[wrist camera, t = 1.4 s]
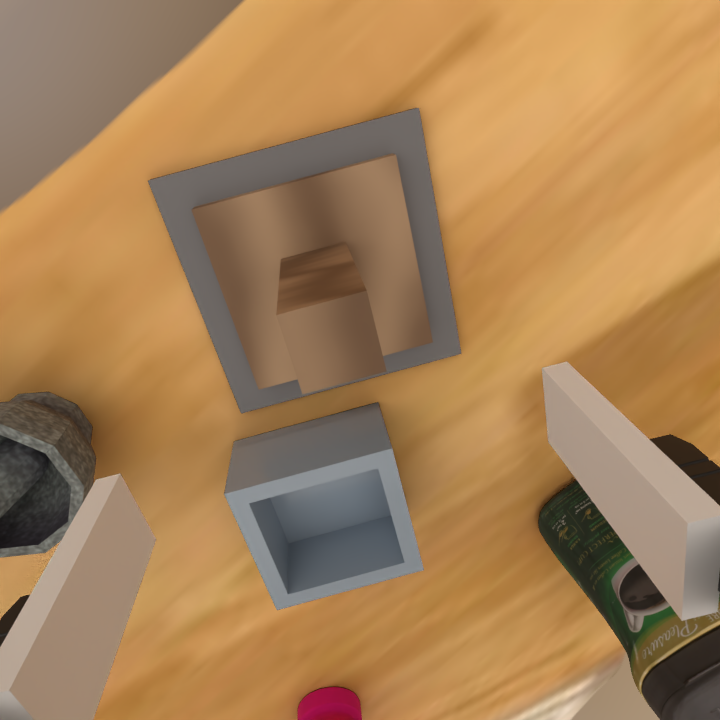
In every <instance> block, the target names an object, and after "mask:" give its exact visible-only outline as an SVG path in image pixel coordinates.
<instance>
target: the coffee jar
mask: <svg viewBox="0 0 720 720" xmlns="http://www.w3.org/2000/svg"><path fill="white" fill-rule="evenodd" d="M538 525H539V530H540V533H541V534H542V536H543V538H544V539H545V541H546V542H547V544H548V545H549V547H550V548H551V550H552V551H553V553H554V554H555V555H556V557H557V558H558V559H559V561H560V562H561V563H562V565H563V566H564V567H565V569H566V570H567V571H568V572H569V574H570V575H571V576H572V577H573V579H574V580H575V581H576V582H577V584H578V585H579V586H580V587H581V589H582V590H583V591H584V592H585V594H586V595H587V596H588V597H589V599H590V600H591V601H592V603H593V604H594V605H595V606H596V608H597V609H598V610H599V612H600V613H601V614H602V616H603V617H604V619H605V620H606V621H607V623H608V624H609V626H610V627H611V629H612V630H613V632H614V633H615V635H616V636H617V638H618V639H619V641H620V642H621V644H622V645H623V647H624V649H625V651H626V652H627V655H628V658H629V661H630V667H631V672H632V676H633V679H634V682H635V684H636V686H637V688H638V690H639V692H640V694H641V695H642V697H643V699H644V700H645V701H646V702H647V703H648V705H649V706H650V707H651V708H652V710H653V711H654V712H655V714H656V715H657V716H658V717H659V718H660V720H720V593H719V603H718V612H716V613H712V614H708V615H704V616H700V617H696V618H691V619H687V620H683V621H681V619H680V618H679V617H678V615H677V614H676V613H675V611H674V610H673V609H672V607H671V606H670V605H669V603H668V602H667V601H666V599H665V598H664V597H663V595H662V594H661V593H660V591H659V590H658V588H657V587H656V586H655V584H654V583H653V582H652V580H651V579H650V578H649V576H648V575H647V574H646V572H645V571H644V570H643V568H642V567H641V566H640V564H639V563H638V562H637V560H636V559H635V558H634V556H633V555H632V554H631V552H630V551H629V550H628V548H627V547H626V546H625V544H624V543H623V541H622V540H621V539H620V537H619V536H618V535H617V533H616V532H615V531H614V529H613V528H612V527H611V525H610V524H609V523H608V521H607V520H606V519H605V517H604V516H603V515H602V513H601V512H600V511H599V509H598V508H597V507H596V505H595V504H594V503H593V501H592V500H591V499H590V497H589V496H588V494H587V493H586V492H585V490H584V489H583V488H582V486H581V485H580V484H579V482H578V481H577V480H576V481H575V482H573V483H572V484H570V485H569V486H568V487H566V488H565V489H564V490H562V491H561V492H559V493H558V494H557V495H556V496H555V497H553V498H552V499H551V500H550V501H549V502H548V503H547V504H546V505H545V506H544V507H543V509H542V510H541V512H540V516H539V521H538Z"/></svg>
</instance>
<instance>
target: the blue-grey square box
mask: <svg viewBox="0 0 720 720" xmlns="http://www.w3.org/2000/svg"><path fill="white" fill-rule="evenodd" d="M224 495H225V497H226V499H227V501H228V504H229V506H230V508H231V510H232V512H233V515H234V517H235V519H236V521H237V523H238V526H239V528H240V530H241V532H242V534H243V537H244V539H245V541H246V543H247V545H248V548H249V550H250V552H251V554H252V556H253V559H254V561H255V563H256V565H257V567H258V570H259V572H260V574H261V576H262V578H263V581H264V583H265V585H266V587H267V589H268V592H269V594H270V596H271V598H272V600H273V603H274V605H275V607H276V609H277V610H280V609H283V608H287V607H291V606H294V605H298V604H302V603H305V602H309V601H313V600H316V599H320V598H323V597H327V596H331V595H334V594H338V593H342V592H345V591H349V590H353V589H356V588H360V587H364V586H367V585H371V584H375V583H378V582H382V581H386V580H389V579H393V578H397V577H400V576H404V575H407V574H411V573H415V572H418V571H422V570H424V568H423V565H422V561H421V557H420V553H419V549H418V545H417V542H416V538H415V534H414V530H413V526H412V522H411V519H410V515H409V511H408V507H407V503H406V499H405V495H404V492H403V488H402V484H401V480H400V476H399V472H398V469H397V465H396V461H395V457H394V453H393V449H392V446H391V443H390V439H389V436H388V433H387V430H386V426H385V423H384V420H383V416H382V413H381V410H380V407H379V403H378V402H377V403H373V404H370V405H366V406H362V407H359V408H355V409H351V410H348V411H344V412H340V413H337V414H333V415H329V416H326V417H322V418H318V419H315V420H311V421H307V422H304V423H300V424H296V425H293V426H289V427H285V428H282V429H278V430H274V431H270V432H267V433H263V434H259V435H256V436H252V437H248V438H245V439H241V440H237V441H234V443H233V448H232V454H231V459H230V465H229V470H228V476H227V481H226V487H225V492H224Z"/></svg>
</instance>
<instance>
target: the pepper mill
mask: <svg viewBox="0 0 720 720" xmlns="http://www.w3.org/2000/svg"><path fill="white" fill-rule="evenodd" d="M298 720H362V715H361V707H360V701H359V698H358V697H357V696H356V695H355V693H353V692H352V691H350V690H348V689H345V688H341V687H327V688H322V689H318V690H316V691H314V692H311V693H310V694H308V695H307V696H306V697H304V698H303V700H302V701H301V702H300V704H299V707H298Z"/></svg>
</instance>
